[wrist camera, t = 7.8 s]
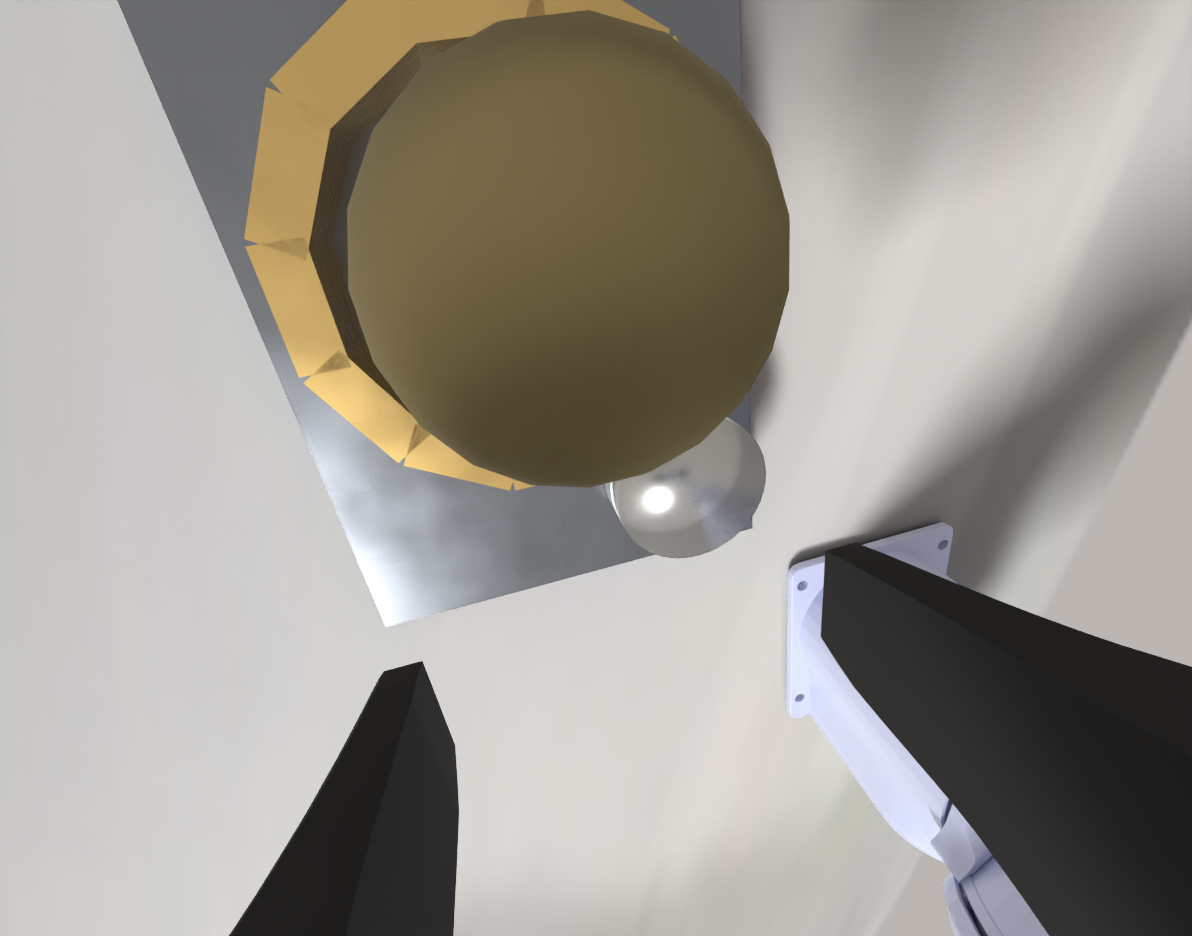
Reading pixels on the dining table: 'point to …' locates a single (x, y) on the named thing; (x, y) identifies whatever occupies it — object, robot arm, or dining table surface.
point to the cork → (568, 249)
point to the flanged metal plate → (328, 317)
